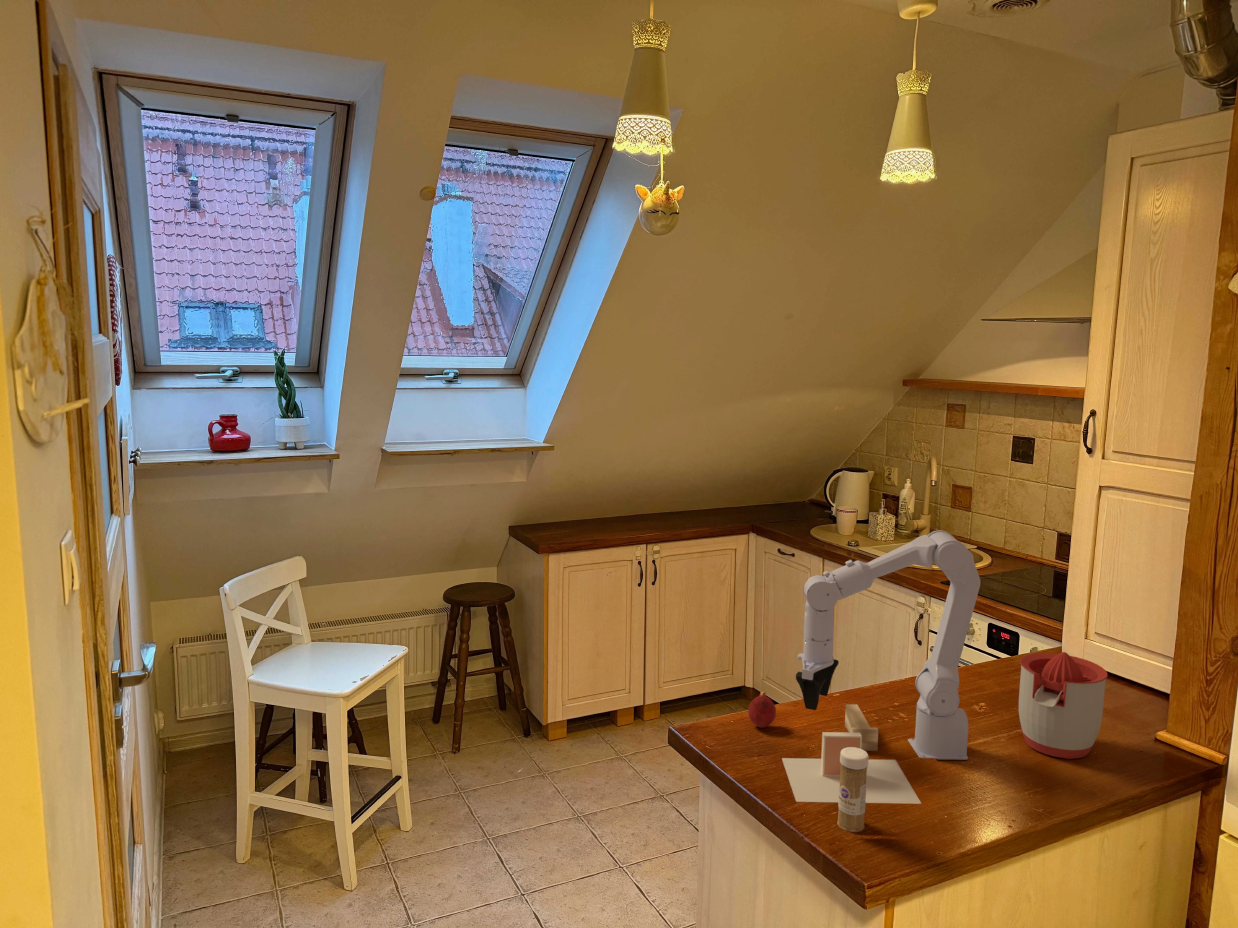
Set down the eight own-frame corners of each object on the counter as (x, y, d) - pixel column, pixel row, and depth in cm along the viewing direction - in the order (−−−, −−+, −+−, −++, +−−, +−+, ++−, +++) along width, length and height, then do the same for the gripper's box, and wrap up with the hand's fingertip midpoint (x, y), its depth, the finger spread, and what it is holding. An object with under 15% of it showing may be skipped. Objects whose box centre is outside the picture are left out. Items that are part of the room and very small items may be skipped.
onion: (775, 735, 181) (776, 699, 180) (747, 733, 182) (748, 696, 181) (775, 723, 187) (776, 687, 186) (748, 721, 188) (749, 685, 187)
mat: (895, 762, 170) (895, 759, 170) (921, 806, 154) (921, 803, 154) (781, 760, 171) (781, 757, 171) (796, 803, 155) (796, 801, 155)
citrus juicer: (998, 749, 176) (1005, 654, 173) (1030, 722, 188) (1037, 633, 185) (1082, 777, 165) (1091, 675, 162) (1111, 746, 177) (1119, 652, 174)
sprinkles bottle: (832, 827, 147) (835, 752, 145) (844, 816, 151) (847, 743, 149) (857, 837, 145) (861, 761, 143) (869, 826, 148) (873, 751, 146)
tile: (858, 772, 165) (859, 732, 164) (860, 776, 164) (862, 736, 162) (820, 771, 165) (822, 731, 164) (822, 776, 164) (824, 735, 162)
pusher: (862, 726, 186) (863, 704, 185) (877, 753, 174) (878, 729, 173) (838, 726, 186) (839, 704, 185) (851, 752, 174) (852, 729, 173)
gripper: (809, 622, 182) (807, 684, 184) (787, 644, 169) (785, 710, 171) (843, 628, 178) (841, 691, 180) (823, 650, 166) (821, 718, 168)
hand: (816, 701), depth 176 cm, fingers open, 7 cm apart
